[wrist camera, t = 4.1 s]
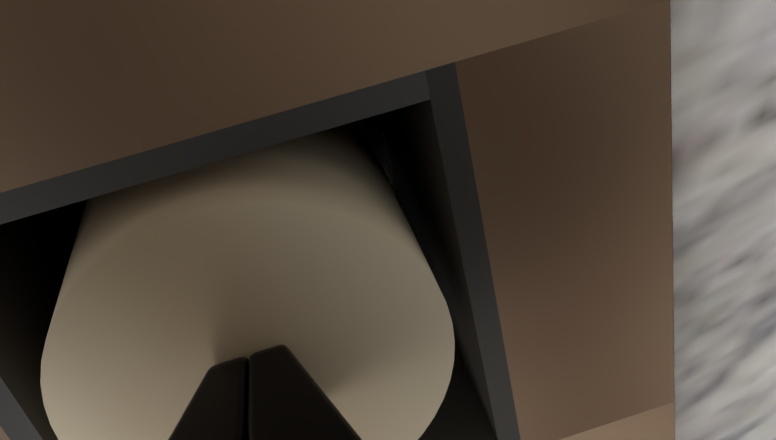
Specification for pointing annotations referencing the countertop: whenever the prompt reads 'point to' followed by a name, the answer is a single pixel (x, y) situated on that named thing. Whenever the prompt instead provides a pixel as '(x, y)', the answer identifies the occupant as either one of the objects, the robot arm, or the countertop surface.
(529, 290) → the walnut block
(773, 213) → the countertop surface
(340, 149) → the birch peg
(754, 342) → the countertop surface
